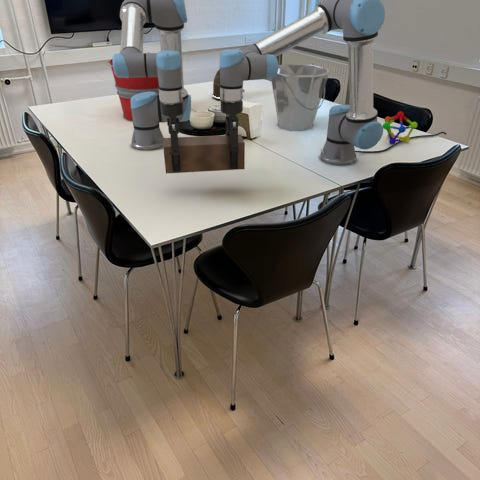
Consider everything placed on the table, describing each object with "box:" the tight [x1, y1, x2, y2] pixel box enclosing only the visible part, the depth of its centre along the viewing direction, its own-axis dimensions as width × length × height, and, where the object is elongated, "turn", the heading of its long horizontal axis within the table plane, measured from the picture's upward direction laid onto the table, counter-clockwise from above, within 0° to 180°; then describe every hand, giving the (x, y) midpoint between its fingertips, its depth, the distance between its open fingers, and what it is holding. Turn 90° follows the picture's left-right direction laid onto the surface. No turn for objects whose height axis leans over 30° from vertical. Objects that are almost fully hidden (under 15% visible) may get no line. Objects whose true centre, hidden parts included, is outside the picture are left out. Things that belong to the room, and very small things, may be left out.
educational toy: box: [382, 110, 418, 145], centre depth 207 cm, size 16×13×15 cm
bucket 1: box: [105, 52, 159, 122], centre depth 239 cm, size 35×35×30 cm
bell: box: [212, 68, 220, 97], centre depth 278 cm, size 19×26×20 cm
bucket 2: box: [270, 63, 330, 131], centre depth 226 cm, size 30×30×28 cm
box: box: [162, 134, 246, 175], centre depth 157 cm, size 28×9×10 cm, turn 98°
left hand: (176, 165), depth 157 cm, fingers closed on box, 9 cm apart
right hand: (232, 163), depth 160 cm, fingers closed on box, 9 cm apart
